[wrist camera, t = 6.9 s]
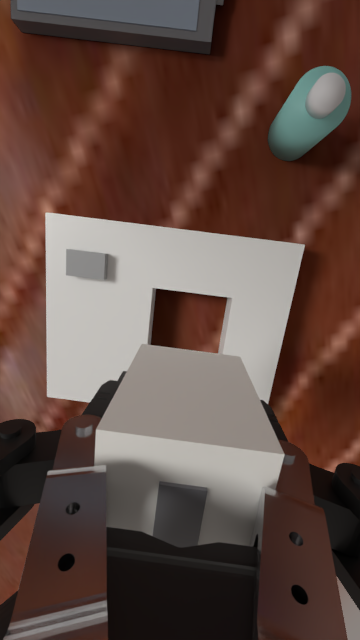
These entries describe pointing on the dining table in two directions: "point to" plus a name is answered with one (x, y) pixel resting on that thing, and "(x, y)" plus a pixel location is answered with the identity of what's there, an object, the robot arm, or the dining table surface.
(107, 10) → the phone
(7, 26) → the dining table surface
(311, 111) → the teal rounded cylinder
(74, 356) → the board
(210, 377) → the block
